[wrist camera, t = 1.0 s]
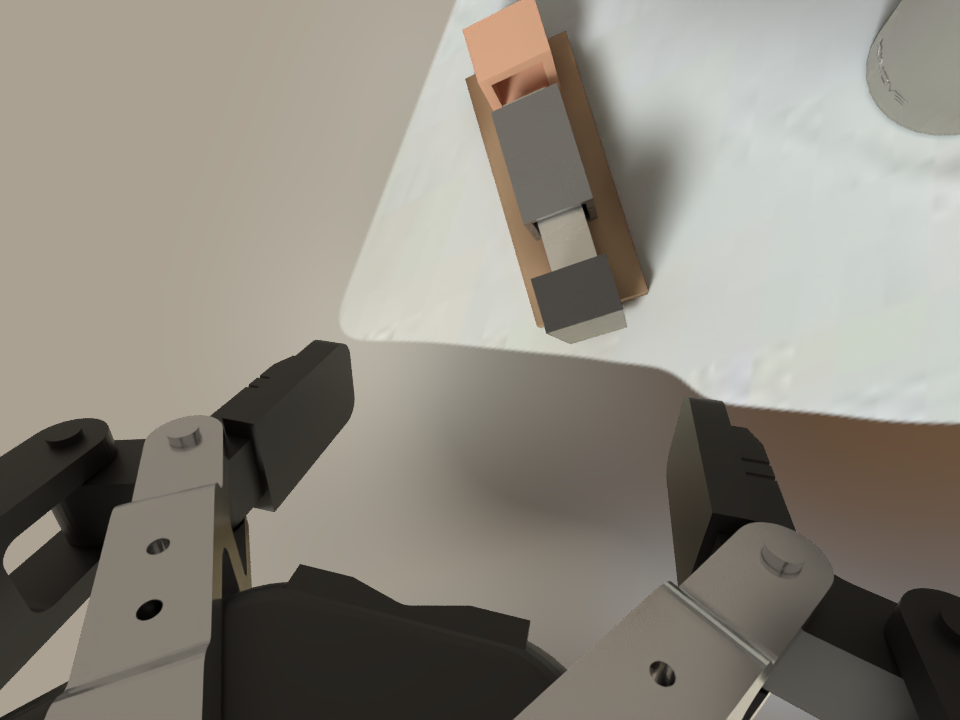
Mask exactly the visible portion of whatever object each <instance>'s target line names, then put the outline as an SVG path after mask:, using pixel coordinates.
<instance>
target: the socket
mask: <svg viewBox="0 0 960 720" xmlns="http://www.w3.org/2000/svg"><path fill="white" fill-rule="evenodd" d="M463 33H464V36H465V40H466V43H467V47H468V50H469V54H470V57H471V60H472V64H473V67H474V71H475V74H476V77H477V81H478V84H479V86H480V88H481V89H482V91H483V93H484V95H485V97H486V98H487V100H488V102H489V104H490V106H491V107H492V109H493V111H495V110H497V109H499V108H502V107H503V105H506V104H508V103H510V102H512V101H514V100H517V99H519V98H521V97H523V96H525V95H528V94H530V93H532V92H534V91H536V90H539V89H541V88H543V87H545V88H546V87H548V86H550V85H553V84H555V83H557V84H558V87H559V90H561V87H560V83H559V80H558V76H557V72H556V69H555V65H554V61H553V57H552V54H551V50H550V47H549V44H548V40H547V37H546V34H545V31H544V28H543V24H542V21H541V18H540V15H539V11H538V8H537V5H536V2H535V0H520V1H518V2H516V3H514V4H512V5H510V6H508V7H506V8H504V9H502V10H501V11H499V12H497V13H495V14H493V15H491V16H489V17H487V18H485V19H483V20H481V21H479V22H477V23H475V24H473V25H471V26H469V27H467V28H465V29H463Z"/></svg>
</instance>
